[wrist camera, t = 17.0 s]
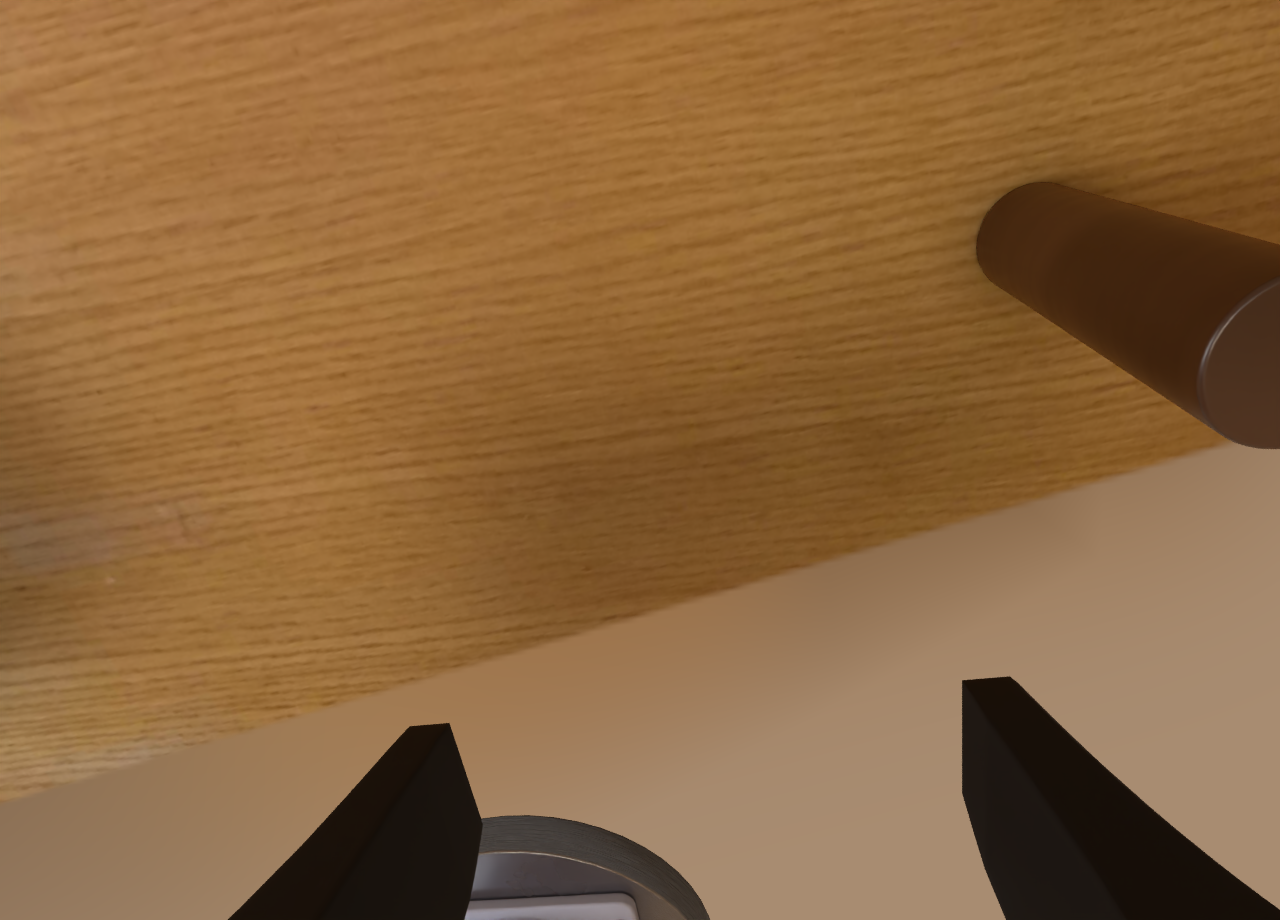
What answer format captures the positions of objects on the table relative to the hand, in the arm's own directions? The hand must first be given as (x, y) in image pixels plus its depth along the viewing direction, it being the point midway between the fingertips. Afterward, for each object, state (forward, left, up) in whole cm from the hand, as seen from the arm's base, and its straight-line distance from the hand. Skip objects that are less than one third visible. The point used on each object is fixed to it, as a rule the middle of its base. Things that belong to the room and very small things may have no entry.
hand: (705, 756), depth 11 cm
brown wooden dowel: (+4, -8, -10) cm, 14 cm away
